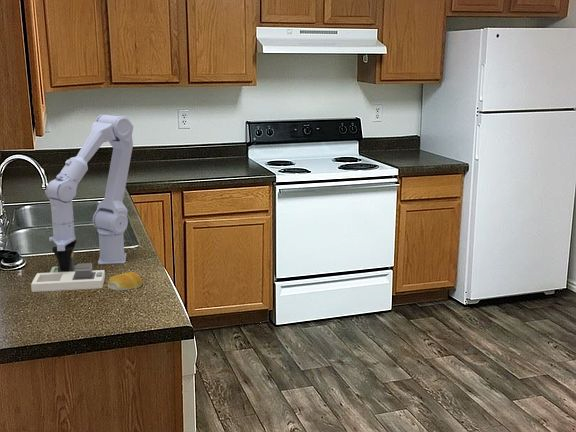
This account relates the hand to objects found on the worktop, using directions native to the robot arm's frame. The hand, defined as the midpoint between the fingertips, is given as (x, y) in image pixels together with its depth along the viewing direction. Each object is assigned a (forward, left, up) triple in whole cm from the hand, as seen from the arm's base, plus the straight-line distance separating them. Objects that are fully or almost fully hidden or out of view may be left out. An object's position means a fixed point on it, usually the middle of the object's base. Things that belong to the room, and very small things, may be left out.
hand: (66, 268), depth 188 cm
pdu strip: (+10, +2, -2) cm, 10 cm away
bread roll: (+13, +17, -2) cm, 22 cm away
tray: (0, 0, -2) cm, 2 cm away
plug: (0, 0, -1) cm, 1 cm away
